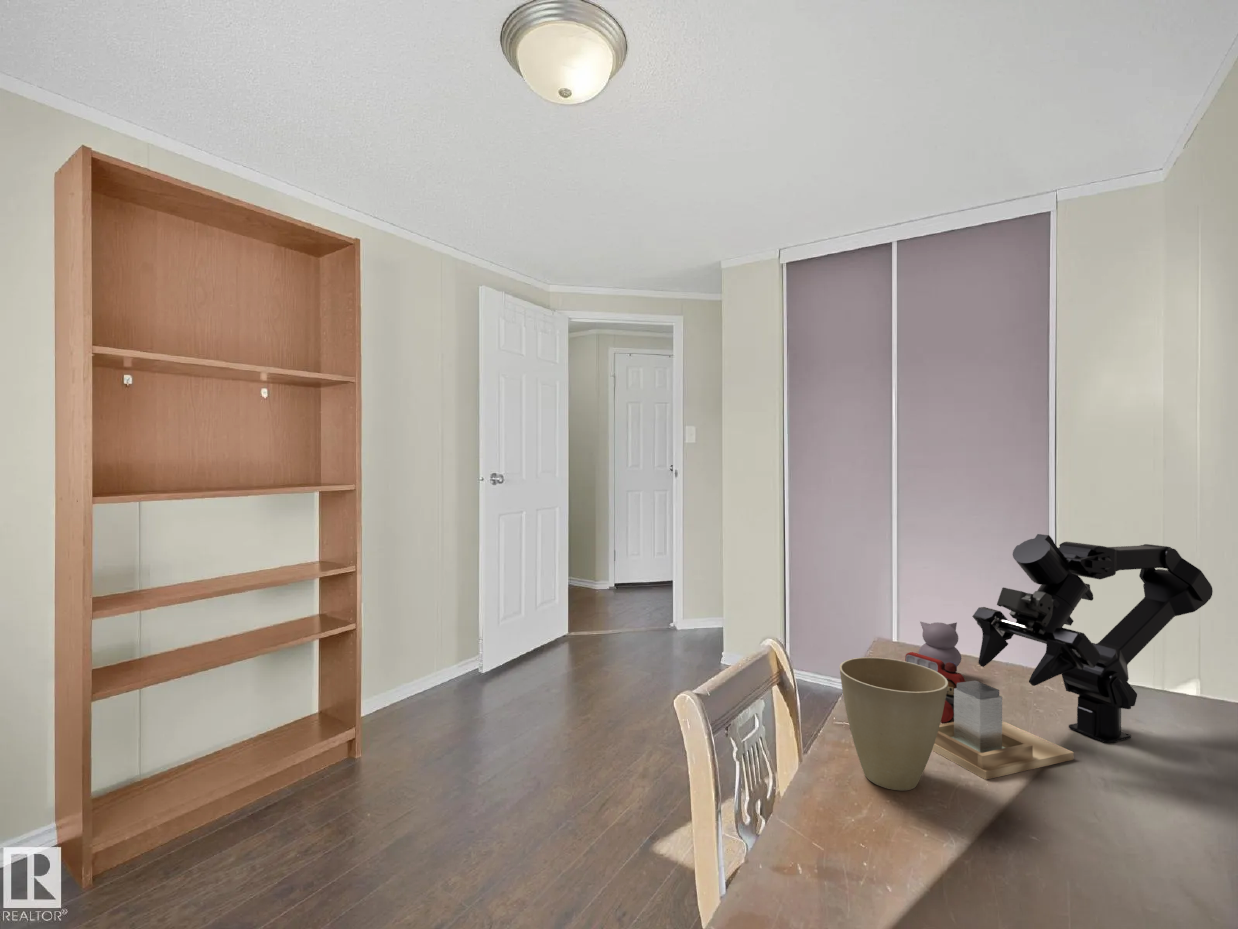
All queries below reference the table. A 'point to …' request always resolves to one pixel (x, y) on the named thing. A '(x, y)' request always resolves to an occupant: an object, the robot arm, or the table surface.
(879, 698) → the plant pot
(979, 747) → the grey lidded container
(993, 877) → the table surface
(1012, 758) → the wooden tray
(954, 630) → the cat figurine
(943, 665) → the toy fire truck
